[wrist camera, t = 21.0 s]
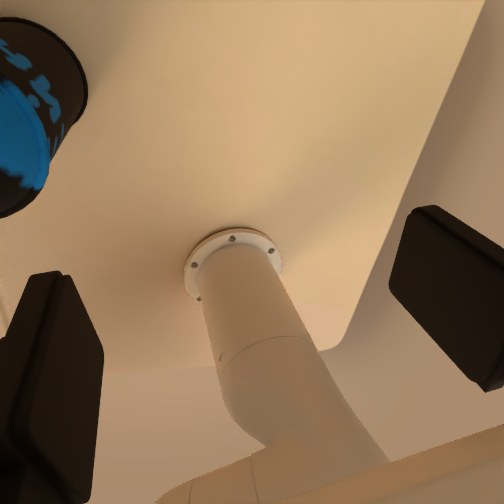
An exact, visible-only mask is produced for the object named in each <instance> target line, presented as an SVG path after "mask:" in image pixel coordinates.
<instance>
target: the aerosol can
mask: <svg viewBox="0 0 504 504" xmlns="http://www.w3.org/2000/svg"><path fill="white" fill-rule="evenodd" d="M87 99H88V84H87V80H86V76H85V73H84V71H83V68H82V66H81V64H80V62H79V60H78V59H77V57H76V55H75V54H74V52H73V51H72V50H71V49H70V48H69V47H68V45H67V44H66V43H65V42H64V41H63V40H62V39H60V38H59V37H58V36H57V35H56V34H55V33H53V32H52V31H50V30H48V29H47V28H45V27H43V26H42V25H39V24H37V23H35V22H32V21H30V20H26V19H21V18H16V17H2V18H0V219H1V218H5V217H8V216H10V215H12V214H14V213H16V212H18V211H20V210H22V209H23V208H25V207H26V206H27V205H28V204H29V203H31V202H32V201H33V200H34V199H35V198H36V197H37V195H38V194H39V193H40V191H41V190H42V188H43V186H44V184H45V181H46V179H47V176H48V173H49V165H50V162H51V160H52V159H53V157H54V155H55V153H56V152H57V150H58V148H59V147H60V145H61V143H62V141H63V140H64V138H65V136H66V135H67V133H68V131H69V129H70V128H71V126H72V125H73V124H75V123H76V122H77V121H78V120H79V118H80V117H81V116H82V114H83V112H84V110H85V108H86V105H87Z"/></svg>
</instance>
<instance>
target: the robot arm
mask: <svg viewBox="0 0 504 504" xmlns="http://www.w3.org/2000/svg"><path fill="white" fill-rule="evenodd" d="M281 270H282V258H281V255H280V252H279V250H278V248H277V247H276V245H275V244H274V243H273V241H272V240H271V239H270V238H268V237H267V236H266V235H264V234H262V233H260V232H258V231H255V230H251V229H241V228H237V229H229V230H225V231H221V232H218V233H216V234H214V235H212V236H210V237H208V238H206V239H205V240H204V241H202V242H201V243H200V244H199V245H198V246H197V247H196V248H195V249H194V250H193V251H192V253H191V254H190V255H189V257H188V259H187V261H186V264H185V268H184V282H185V287H186V290H187V292H188V294H189V296H190V297H191V298H192V299H193V300H194V301H195V302H196V303H197V304H199V305H200V306H202V307H203V310H204V315H205V319H206V324H207V328H208V333H209V337H210V342H211V347H212V351H213V356H214V360H215V365H216V369H217V374H218V378H219V383H220V387H221V391H222V396H223V400H224V403H225V405H226V407H227V410H228V412H229V414H230V415H231V417H232V418H233V419H234V421H235V422H236V423H237V424H238V425H239V426H240V427H241V428H242V429H243V430H244V431H246V432H247V433H248V434H249V435H251V436H252V437H253V438H255V439H256V440H258V441H259V442H261V443H262V444H264V445H265V446H266V448H264V449H262V450H260V451H258V452H256V453H253V454H251V456H249V457H247V458H244V459H242V460H239V461H237V462H234V463H232V464H229V465H227V466H224V467H222V468H219V469H217V470H214V471H212V472H209V473H207V474H204V475H202V476H199V477H197V478H194V479H192V480H189V481H187V482H185V483H183V484H181V485H179V486H177V487H175V488H173V489H171V490H170V491H168V492H166V493H165V494H164V495H162V496H161V497H160V498H159V499H158V500H157V501H156V502H155V503H154V504H504V424H502V425H499V426H496V427H493V428H490V429H487V430H484V431H481V432H478V433H475V434H472V435H470V436H466V437H464V438H461V439H458V440H455V441H452V442H449V443H446V444H443V445H440V446H437V447H434V448H432V449H429V450H426V451H423V452H420V453H417V454H414V455H411V456H408V457H405V458H402V459H400V460H397V461H394V462H390V461H389V459H388V458H387V456H386V455H385V454H384V452H383V451H382V450H381V448H380V447H379V446H378V445H377V443H376V442H375V440H374V439H373V438H372V436H371V435H370V434H369V432H368V431H367V430H366V428H365V427H364V426H363V424H362V423H361V422H360V420H359V419H358V417H357V416H356V415H355V413H354V412H353V410H352V409H351V407H350V406H349V404H348V403H347V401H346V400H345V398H344V397H343V395H342V393H341V392H340V390H339V388H338V387H337V385H336V383H335V381H334V380H333V378H332V376H331V374H330V372H329V371H328V369H327V367H326V365H325V363H324V361H323V360H322V358H321V356H320V354H319V352H318V350H317V348H316V347H315V345H314V343H313V341H312V339H311V337H310V335H309V333H308V331H307V329H306V328H305V326H304V324H303V322H302V320H301V318H300V316H299V314H298V313H297V311H296V309H295V307H294V305H293V303H292V301H291V299H290V297H289V296H288V294H287V292H286V290H285V288H284V286H283V284H282V282H281V280H280V279H279V277H280V274H281ZM389 289H390V291H391V293H392V294H393V295H394V296H395V298H396V299H397V300H398V301H399V302H400V303H401V304H402V305H403V307H404V308H405V309H406V310H407V311H408V312H409V313H410V314H411V315H412V317H413V318H414V319H415V320H416V321H417V322H418V323H419V324H420V325H421V327H423V329H424V330H425V331H426V332H427V333H428V334H429V335H430V336H431V338H432V339H433V340H434V341H435V342H436V343H437V344H438V345H439V347H440V348H441V349H442V350H443V351H444V352H445V353H446V354H447V355H448V357H449V358H450V359H451V360H452V361H453V362H454V363H455V364H456V365H457V367H458V368H459V369H460V370H461V371H462V372H463V373H464V374H465V375H466V377H467V378H469V379H470V380H471V381H473V382H476V383H477V384H478V385H479V386H480V387H481V389H482V390H483V391H484V392H485V393H486V392H489V391H492V390H496V389H499V388H502V387H503V385H504V249H503V248H502V247H501V246H499V245H497V244H496V243H494V242H493V241H491V240H490V239H488V238H486V237H485V236H484V235H482V234H480V233H479V232H477V231H476V230H474V229H473V228H471V227H470V226H468V225H466V224H465V223H464V222H462V221H460V220H459V219H457V218H456V217H454V216H453V215H451V214H450V213H448V212H447V211H445V210H443V209H442V208H440V207H439V206H436V205H429V206H423V207H417V208H415V209H413V210H412V212H411V214H409V215H408V216H407V219H406V222H405V226H404V230H403V233H402V236H401V240H400V243H399V247H398V251H397V254H396V258H395V262H394V265H393V268H392V272H391V276H390V279H389ZM103 366H104V351H103V347H102V344H101V342H100V340H99V338H98V335H97V333H96V331H95V329H94V326H93V324H92V322H91V320H90V317H89V315H88V313H87V311H86V309H85V306H84V304H83V302H82V300H81V297H80V295H79V293H78V291H77V289H76V286H75V284H74V282H73V280H72V278H71V276H70V275H62V273H61V272H60V271H58V270H57V271H51V272H45V273H40V274H34V275H31V276H30V277H29V279H28V282H27V284H26V286H25V289H24V291H23V294H22V296H21V299H20V301H19V304H18V306H17V308H16V311H15V313H14V316H13V318H12V321H11V323H10V325H9V328H8V330H7V333H6V335H5V337H2V338H1V339H0V504H84V503H86V502H88V501H89V499H90V496H91V489H92V479H93V468H94V458H95V447H96V437H97V427H98V417H99V407H100V397H101V386H102V376H103Z"/></svg>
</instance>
